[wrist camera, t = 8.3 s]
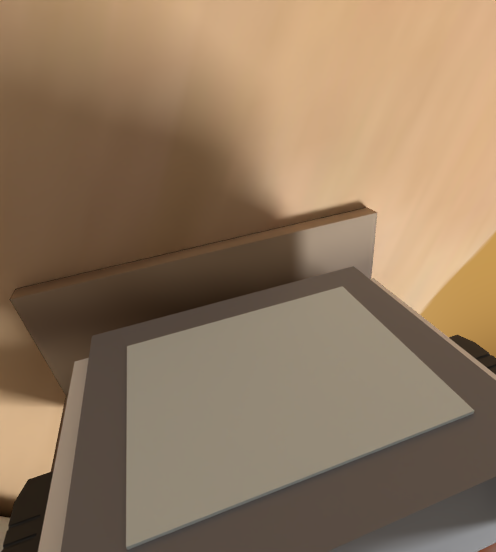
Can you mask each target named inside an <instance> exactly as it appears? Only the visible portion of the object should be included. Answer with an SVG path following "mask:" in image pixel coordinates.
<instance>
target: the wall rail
mask: <svg viewBox="0 0 496 552" xmlns="http://www.w3.org/2000/svg"><path fill="white" fill-rule="evenodd" d="M376 221H377V212H375V211H373V210H371V209H369V208H363V209H359V210H355V211H350V212H346V213H342V214H337V215H333V216H329V217H324V218H320V219H316V220H311V221H307V222H303V223H298V224H294V225H290V226H286V227H281V228H277V229H273V230H268V231H264V232H260V233H255V234H251V235H247V236H242V237H238V238H234V239H229V240H225V241H221V242H216V243H212V244H208V245H204V246H199V247H195V248H191V249H186V250H182V251H178V252H173V253H169V254H165V255H160V256H156V257H152V258H147V259H143V260H139V261H135V262H130V263H126V264H122V265H117V266H113V267H109V268H104V269H100V270H96V271H91V272H87V273H83V274H78V275H74V276H70V277H65V278H61V279H57V280H53V281H48V282H44V283H40V284H35V285H31V286H27V287H22V288H18V289H15V291H14V293H13V295H12V297H11V299H10V301H11V302H12V304H13V306H14V307H15V309H16V311H17V313H18V314H19V316H20V318H21V319H22V321H23V323H24V325H25V326H26V328H27V330H28V331H29V333H30V335H31V337H32V338H33V340H34V342H35V343H36V345H37V347H38V349H39V350H40V352H41V354H42V355H43V357H44V359H45V361H46V362H47V364H48V366H49V367H50V369H51V371H52V373H53V374H54V376H55V378H56V379H57V381H58V383H59V385H60V386H61V388H62V390H63V391H64V393H65V395H66V398H65V403H64V408H63V413H62V418H61V423H60V428H59V433H58V438H57V443H56V449H55V454H54V459H53V464H52V469H51V472H52V471H54V466H55V460H56V455H57V450H58V445H59V440H60V435H61V429H62V424H63V419H64V414H65V409H66V404H67V398H68V393H69V388H70V383H71V378H72V373H73V367H74V362H75V361H79V360H82V359H86V358H89V353H90V346H91V339H92V336H93V335H97V334H101V333H104V332H108V331H112V330H116V329H119V328H123V327H127V326H131V325H134V324H138V323H142V322H146V321H149V320H153V319H157V318H161V317H164V316H168V315H172V314H176V313H179V312H183V311H187V310H191V309H194V308H198V307H202V306H206V305H209V304H213V303H217V302H221V301H224V300H228V299H232V298H236V297H239V296H243V295H247V294H251V293H254V292H258V291H262V290H266V289H269V288H273V287H277V286H281V285H284V284H288V283H292V282H296V281H299V280H303V279H307V278H311V277H314V276H318V275H322V274H326V273H329V272H333V271H337V270H341V269H344V268H348V267H352V266H354V267H355V268H357V269H358V270H359V271H360V272H362V273H363V274H364V275H365V276H367V277H368V278H369V279H371V274H372V263H373V253H374V242H375V231H376Z"/></svg>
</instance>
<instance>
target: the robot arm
mask: <svg viewBox="0 0 496 552" xmlns="http://www.w3.org/2000/svg"><path fill="white" fill-rule="evenodd" d="M370 280H372V281H373V282H374V283H375V284H377V285H378V286H379V287H380V288H382V289H383V290H384V291H385V292H386V293H388V294H389V295H390V296H391V297H393V298H394V299H395V300H396V301H398V302H399V303H400V304H401V305H403V306H404V307H405V308H406V309H408V310H409V311H410V312H411V313H413V314H414V315H415V316H416V317H418V318H419V319H420V320H421V321H423V322H424V323H425V324H426V325H428V326H429V327H430V328H431V329H432V330H434V331H435V332H436V333H437V334H439V335H440V336H441V337H442V338H444V339H445V340H446V341H447V342H449V343H450V344H451V345H452V346H454V347H455V348H456V349H457V350H459V351H460V352H461V353H462V354H464V355H465V356H466V357H467V358H469V359H470V360H471V361H472V362H473V363H475V364H476V365H477V366H478V367H480V368H481V369H482V370H483V371H485V372H486V373H487V374H488V375H490V376H491V377H492V378H493V379H495V380H496V358H495V357H494V356H490V354H489V353H488V352H487V351H485V350H484V349H483V348H481V347H480V346H479V345H477V344H476V343H475V342H473V341H470V340H468V339H466V338H463V337H461V336H459V335H455V336H452V337H447V336H446V335H444V334H443V333H442V332H441V331H440V330H438V329H437V328H436V327H435V326H433V325H432V324H431V323H430V322H428V321H427V320H426V319H424V318H423V317H422V316H421V315H419V314H418V313H417V312H416V311H414V310H413V309H412V308H411V307H409V306H408V305H407V304H405V303H404V302H403V301H402V300H400V299H399V298H398V297H397V296H395V295H394V294H393V293H392V292H390V291H389V290H388V289H386V288H385V287H384V286H383V285H381V284H380V283H379V282H378V281H376V280H375V279H374V278H372V279H370ZM88 359H89V358H86V359H82V360H79V361H75V362H74V367H73V373H72V378H71V383H70V388H69V393H68V398H67V404H66V409H65V414H64V419H63V424H62V429H61V435H60V440H59V445H58V450H57V455H56V460H55V466H54V471H52V472H49V473H46V474H43V475H41V476H38V477H35V478H32V479H29V480H28V481H27V483H26V484H25V486H24V488H23V489H22V491H21V492H20V494H19V496H18V497H17V499H16V501H15V502H14V506H13V510H12V513H11V517H10V521H9V524H8V526H9V529H8V530H7V532H6V535H5V539H4V543H3V550H2V551H1V552H61V546H62V539H63V532H64V525H65V518H66V511H67V504H68V498H69V491H70V484H71V477H72V470H73V463H74V456H75V449H76V442H77V435H78V429H79V422H80V415H81V408H82V401H83V394H84V387H85V380H86V373H87V366H88Z"/></svg>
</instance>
